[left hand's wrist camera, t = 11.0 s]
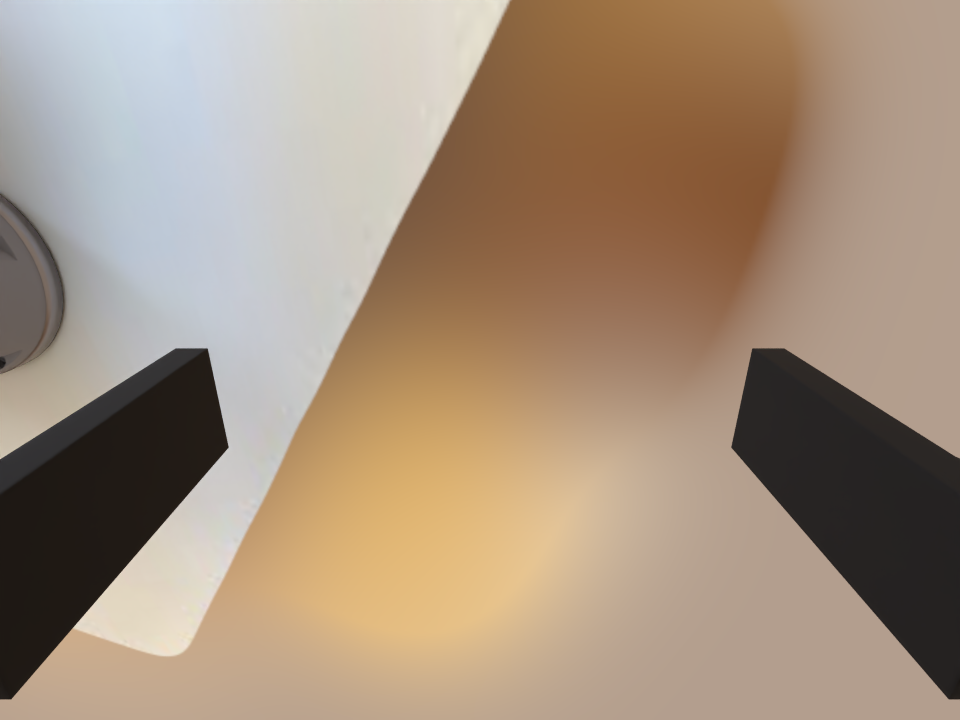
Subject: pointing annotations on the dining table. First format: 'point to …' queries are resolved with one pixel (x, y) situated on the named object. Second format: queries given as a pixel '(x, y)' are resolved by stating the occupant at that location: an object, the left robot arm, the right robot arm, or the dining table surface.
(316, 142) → the dining table surface
